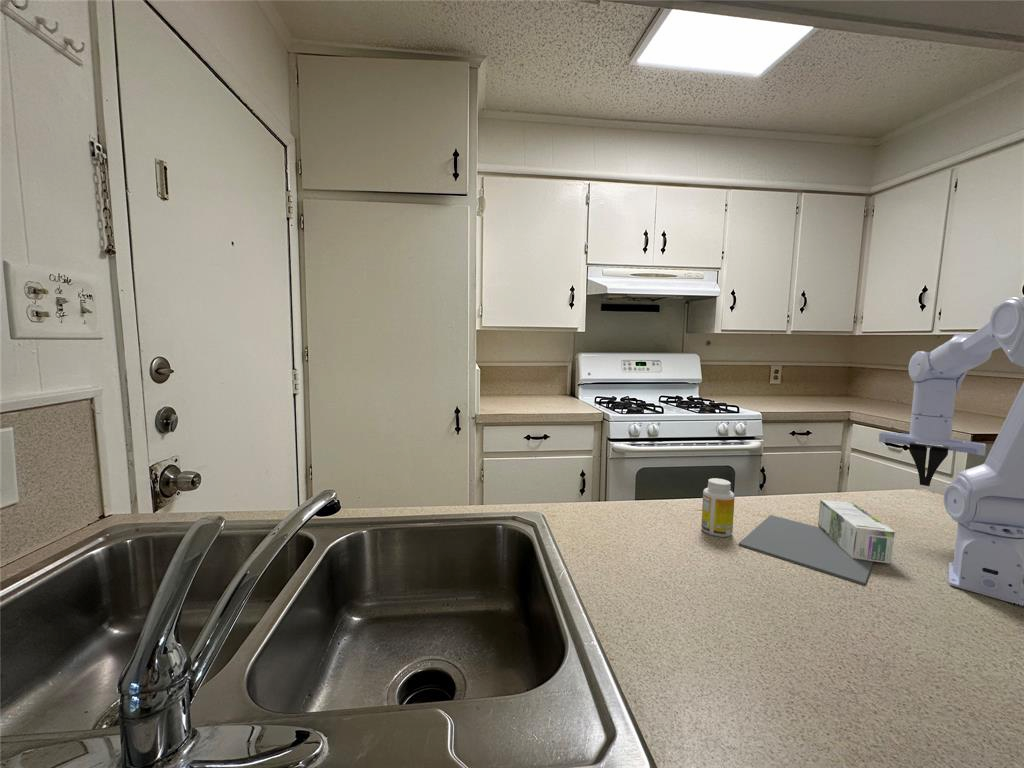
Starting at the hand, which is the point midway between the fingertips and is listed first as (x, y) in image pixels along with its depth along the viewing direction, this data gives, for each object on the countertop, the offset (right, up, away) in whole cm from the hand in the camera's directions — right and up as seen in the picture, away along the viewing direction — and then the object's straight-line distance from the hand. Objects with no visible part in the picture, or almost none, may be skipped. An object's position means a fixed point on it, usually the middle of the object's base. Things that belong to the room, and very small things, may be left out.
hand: (924, 484), depth 83 cm
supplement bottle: (-40, -10, +1) cm, 41 cm away
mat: (-25, -10, -4) cm, 27 cm away
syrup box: (-15, -7, +3) cm, 17 cm away
